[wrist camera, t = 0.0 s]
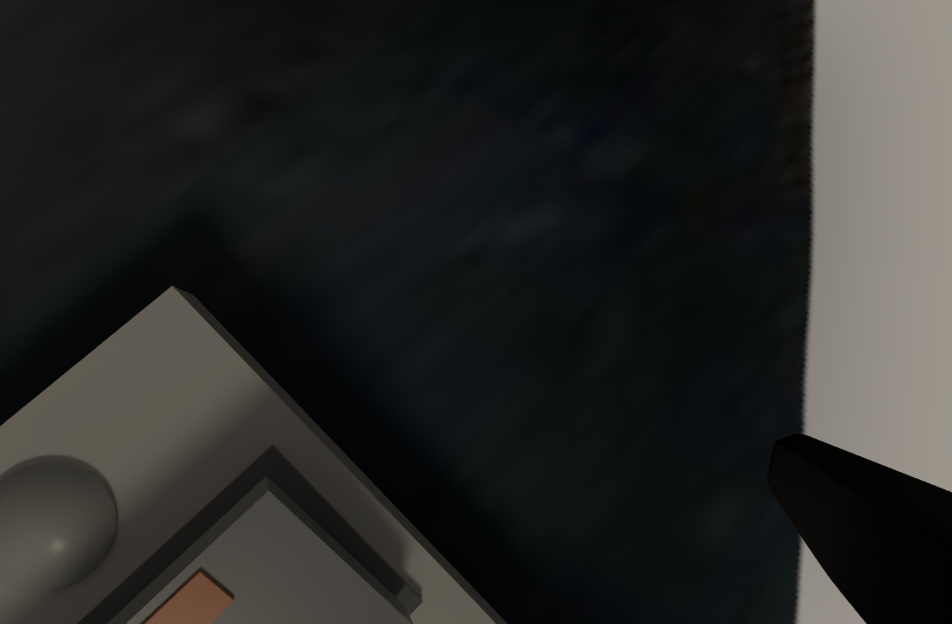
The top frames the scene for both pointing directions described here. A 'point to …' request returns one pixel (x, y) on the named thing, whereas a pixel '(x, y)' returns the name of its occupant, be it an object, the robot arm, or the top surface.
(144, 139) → the top surface
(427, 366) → the top surface
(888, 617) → the robot arm
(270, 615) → the rocker
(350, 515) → the double rocker switch panel
